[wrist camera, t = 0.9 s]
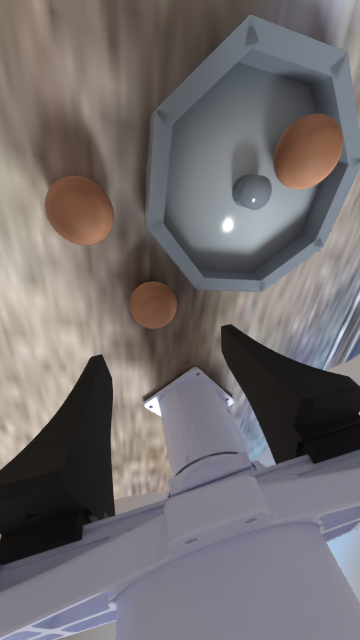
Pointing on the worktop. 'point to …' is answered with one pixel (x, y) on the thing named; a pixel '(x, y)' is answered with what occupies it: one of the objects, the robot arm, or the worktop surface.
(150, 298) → the bead
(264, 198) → the groove tray
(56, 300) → the worktop surface
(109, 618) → the robot arm
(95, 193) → the bead
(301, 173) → the bead seated
